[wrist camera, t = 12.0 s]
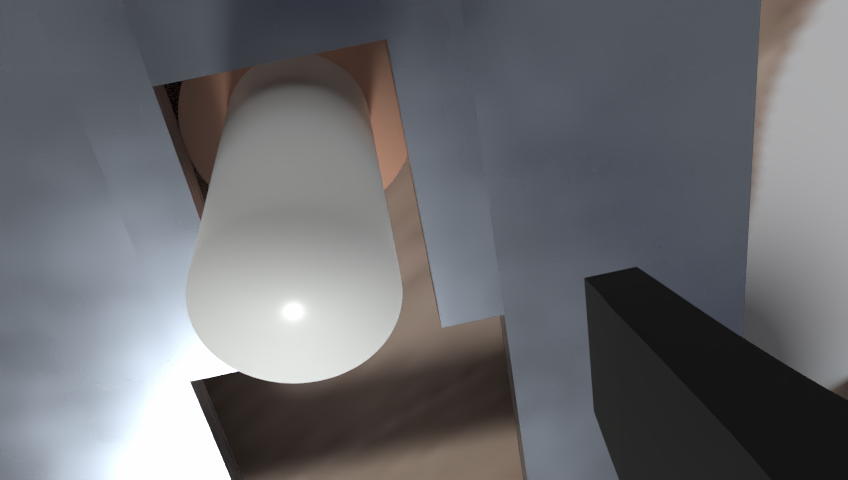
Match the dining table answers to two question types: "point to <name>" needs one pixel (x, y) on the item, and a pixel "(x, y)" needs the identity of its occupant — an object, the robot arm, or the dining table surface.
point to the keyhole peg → (295, 212)
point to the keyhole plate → (433, 184)
